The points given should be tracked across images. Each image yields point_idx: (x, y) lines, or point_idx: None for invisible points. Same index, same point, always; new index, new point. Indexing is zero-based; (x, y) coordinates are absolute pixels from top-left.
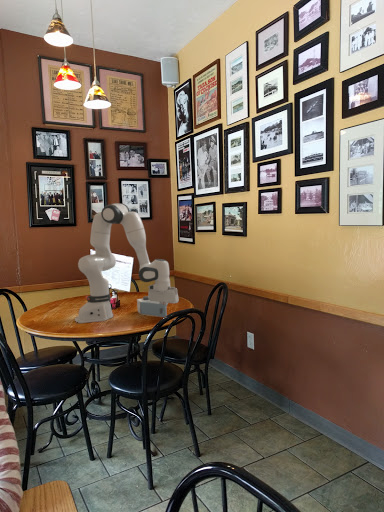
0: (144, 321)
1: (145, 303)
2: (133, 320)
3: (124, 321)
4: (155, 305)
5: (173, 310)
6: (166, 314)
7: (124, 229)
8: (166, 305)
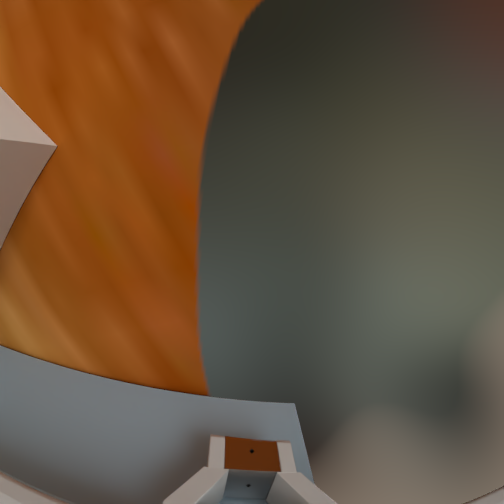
0: None
1: None
2: None
3: None
4: (107, 498)
5: (203, 37)
6: (298, 429)
7: None
8: (309, 495)
